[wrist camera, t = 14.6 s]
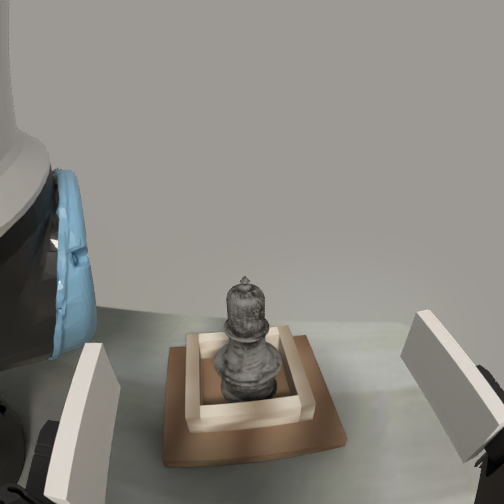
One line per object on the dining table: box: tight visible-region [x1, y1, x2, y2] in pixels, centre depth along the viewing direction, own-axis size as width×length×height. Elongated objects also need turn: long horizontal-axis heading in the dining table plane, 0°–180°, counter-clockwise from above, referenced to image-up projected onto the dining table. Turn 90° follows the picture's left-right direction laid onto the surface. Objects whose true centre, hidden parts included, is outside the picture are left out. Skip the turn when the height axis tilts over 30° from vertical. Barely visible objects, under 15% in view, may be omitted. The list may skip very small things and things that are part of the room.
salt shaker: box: [214, 276, 282, 403], centre depth 26 cm, size 6×6×12 cm
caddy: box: [162, 326, 347, 467], centre depth 27 cm, size 15×14×4 cm
